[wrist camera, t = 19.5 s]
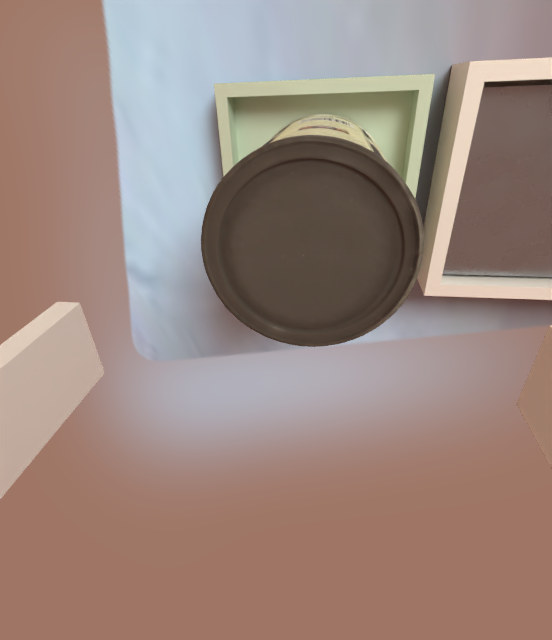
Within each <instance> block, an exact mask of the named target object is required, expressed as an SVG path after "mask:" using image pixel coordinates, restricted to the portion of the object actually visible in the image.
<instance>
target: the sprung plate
mask: <svg viewBox="0 0 552 640" xmlns="http://www.w3.org/2000/svg"><path fill="white" fill-rule="evenodd" d="M443 274H458V275H496V276H534V277H552V85H527V86H501V87H483V91H482V95H481V100H480V104H479V109H478V114H477V118H476V123H475V127H474V132H473V136H472V141H471V146H470V150H469V155H468V159H467V164H466V168H465V173H464V178H463V182H462V187H461V191H460V196H459V200H458V205H457V210H456V214H455V219H454V223H453V228H452V232H451V237H450V242H449V246H448V251H447V255H446V260H445V264H444V269H443Z"/></svg>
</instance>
